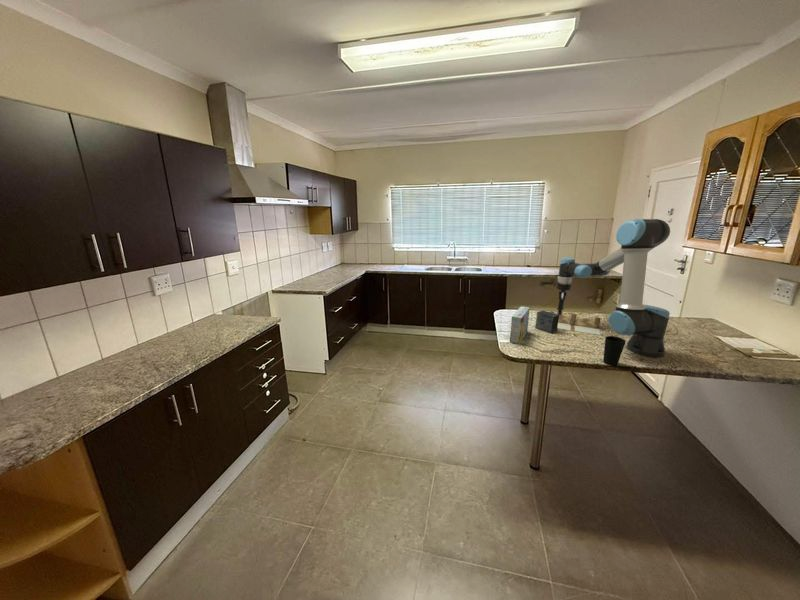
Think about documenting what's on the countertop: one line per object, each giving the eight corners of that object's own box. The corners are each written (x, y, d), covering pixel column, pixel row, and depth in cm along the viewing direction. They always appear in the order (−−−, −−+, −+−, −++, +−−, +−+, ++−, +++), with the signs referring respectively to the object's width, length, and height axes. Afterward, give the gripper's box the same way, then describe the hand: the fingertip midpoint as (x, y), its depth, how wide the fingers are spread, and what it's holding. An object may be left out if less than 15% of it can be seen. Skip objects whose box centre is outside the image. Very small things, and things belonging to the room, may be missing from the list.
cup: (602, 365, 141) (607, 341, 138) (598, 358, 148) (603, 335, 144) (622, 368, 138) (628, 343, 135) (617, 360, 145) (622, 337, 142)
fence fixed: (598, 328, 185) (600, 317, 183) (598, 329, 183) (600, 318, 181) (569, 323, 192) (571, 313, 190) (569, 325, 190) (571, 314, 188)
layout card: (598, 326, 188) (598, 325, 188) (600, 335, 175) (600, 334, 175) (548, 319, 201) (548, 318, 201) (546, 326, 187) (546, 326, 187)
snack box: (517, 329, 183) (520, 305, 178) (527, 331, 180) (530, 307, 175) (508, 342, 166) (511, 315, 161) (519, 344, 163) (522, 317, 158)
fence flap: (568, 323, 192) (570, 313, 191) (568, 324, 190) (570, 314, 188) (548, 320, 198) (549, 310, 196) (547, 321, 195) (549, 312, 193)
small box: (557, 331, 180) (560, 314, 178) (551, 333, 177) (553, 316, 174) (540, 326, 189) (543, 309, 186) (534, 328, 185) (536, 311, 182)
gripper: (557, 280, 197) (552, 315, 203) (557, 284, 186) (551, 321, 192) (571, 281, 193) (565, 317, 200) (571, 285, 182) (565, 323, 189)
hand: (558, 319), depth 196 cm, fingers closed
